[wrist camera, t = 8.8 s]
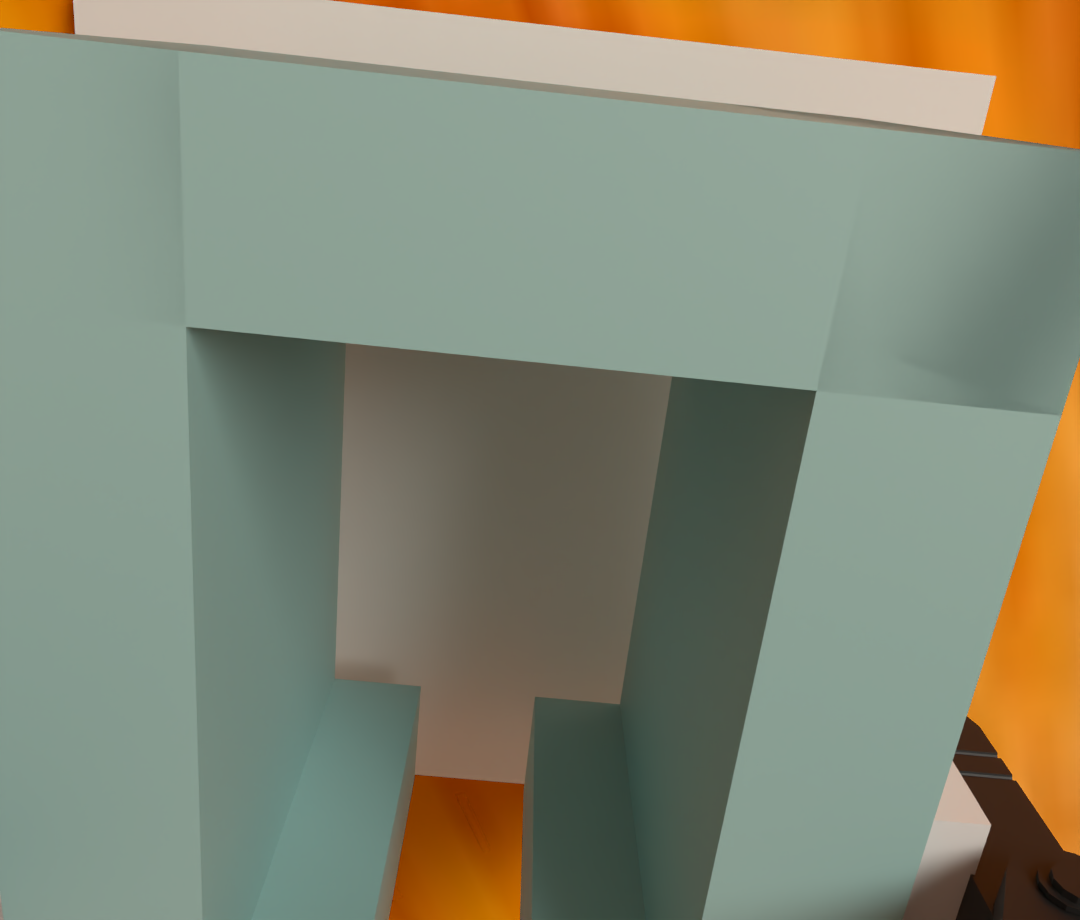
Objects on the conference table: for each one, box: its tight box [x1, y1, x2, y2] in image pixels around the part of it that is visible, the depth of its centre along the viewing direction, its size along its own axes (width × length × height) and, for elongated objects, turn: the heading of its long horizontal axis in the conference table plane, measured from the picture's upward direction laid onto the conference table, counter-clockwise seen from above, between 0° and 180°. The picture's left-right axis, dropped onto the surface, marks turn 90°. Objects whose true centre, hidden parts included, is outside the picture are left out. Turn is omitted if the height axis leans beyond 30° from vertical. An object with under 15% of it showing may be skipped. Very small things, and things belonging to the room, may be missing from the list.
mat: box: [73, 0, 996, 784], centre depth 18 cm, size 14×14×1 cm
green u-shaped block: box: [0, 28, 1080, 920], centre depth 12 cm, size 12×9×7 cm
